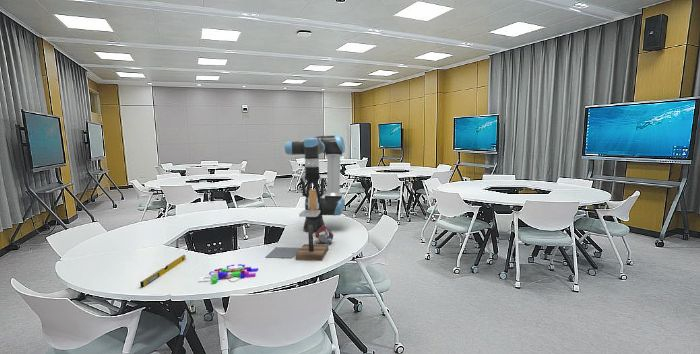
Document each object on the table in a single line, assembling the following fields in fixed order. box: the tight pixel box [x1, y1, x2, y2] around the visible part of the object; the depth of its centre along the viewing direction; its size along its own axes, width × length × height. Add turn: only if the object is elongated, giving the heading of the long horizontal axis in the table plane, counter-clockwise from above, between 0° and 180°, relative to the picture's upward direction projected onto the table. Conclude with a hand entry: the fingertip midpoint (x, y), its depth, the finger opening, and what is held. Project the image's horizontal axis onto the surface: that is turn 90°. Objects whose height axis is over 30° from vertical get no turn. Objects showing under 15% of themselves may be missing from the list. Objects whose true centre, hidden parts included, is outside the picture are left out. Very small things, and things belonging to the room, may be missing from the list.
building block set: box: [197, 263, 259, 285], centre depth 161 cm, size 25×20×4 cm
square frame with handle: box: [298, 188, 320, 218], centre depth 181 cm, size 14×9×12 cm, turn 172°
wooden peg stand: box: [294, 225, 329, 262], centre depth 183 cm, size 17×14×17 cm
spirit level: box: [139, 254, 187, 288], centre depth 165 cm, size 33×1×3 cm, turn 176°
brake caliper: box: [313, 225, 334, 246], centre depth 202 cm, size 11×11×12 cm
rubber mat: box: [264, 246, 301, 259], centre depth 188 cm, size 16×15×1 cm
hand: (313, 208), depth 187 cm, fingers closed on square frame with handle, 4 cm apart
